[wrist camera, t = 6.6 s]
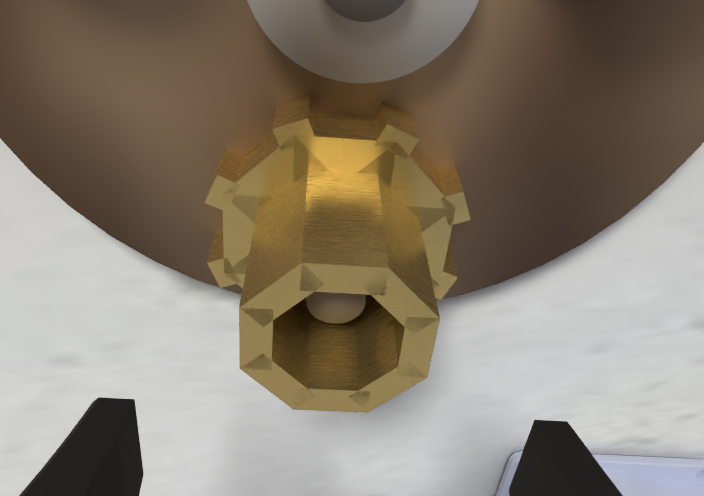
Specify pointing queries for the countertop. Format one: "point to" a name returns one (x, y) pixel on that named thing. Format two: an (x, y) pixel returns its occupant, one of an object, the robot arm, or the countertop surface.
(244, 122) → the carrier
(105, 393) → the countertop surface
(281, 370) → the brass gear
